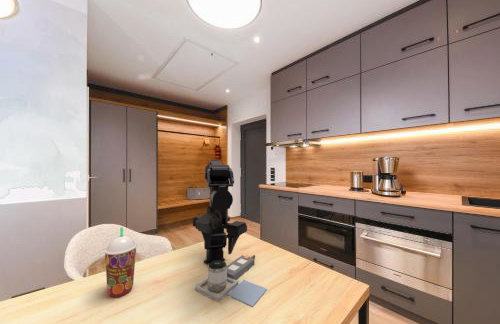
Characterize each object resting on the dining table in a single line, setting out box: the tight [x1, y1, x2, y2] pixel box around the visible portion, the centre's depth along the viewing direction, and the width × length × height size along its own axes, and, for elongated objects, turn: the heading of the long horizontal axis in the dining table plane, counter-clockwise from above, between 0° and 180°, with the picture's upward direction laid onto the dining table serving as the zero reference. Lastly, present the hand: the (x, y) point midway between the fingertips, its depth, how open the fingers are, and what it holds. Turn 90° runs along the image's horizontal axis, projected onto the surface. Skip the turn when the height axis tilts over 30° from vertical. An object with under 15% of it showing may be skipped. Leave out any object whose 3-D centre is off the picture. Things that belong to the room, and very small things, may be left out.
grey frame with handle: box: [194, 254, 256, 303], centre depth 72 cm, size 10×29×3 cm, turn 148°
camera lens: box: [207, 260, 228, 294], centre depth 64 cm, size 6×6×8 cm
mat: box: [227, 279, 268, 308], centre depth 61 cm, size 9×9×1 cm
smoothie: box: [104, 226, 138, 298], centre depth 61 cm, size 8×8×20 cm
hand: (218, 250), depth 64 cm, fingers open, 9 cm apart
